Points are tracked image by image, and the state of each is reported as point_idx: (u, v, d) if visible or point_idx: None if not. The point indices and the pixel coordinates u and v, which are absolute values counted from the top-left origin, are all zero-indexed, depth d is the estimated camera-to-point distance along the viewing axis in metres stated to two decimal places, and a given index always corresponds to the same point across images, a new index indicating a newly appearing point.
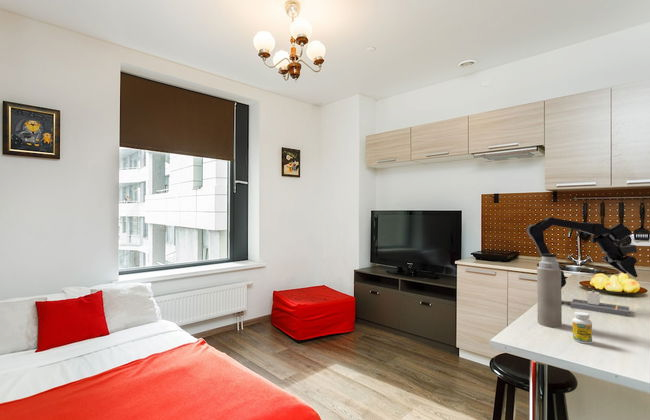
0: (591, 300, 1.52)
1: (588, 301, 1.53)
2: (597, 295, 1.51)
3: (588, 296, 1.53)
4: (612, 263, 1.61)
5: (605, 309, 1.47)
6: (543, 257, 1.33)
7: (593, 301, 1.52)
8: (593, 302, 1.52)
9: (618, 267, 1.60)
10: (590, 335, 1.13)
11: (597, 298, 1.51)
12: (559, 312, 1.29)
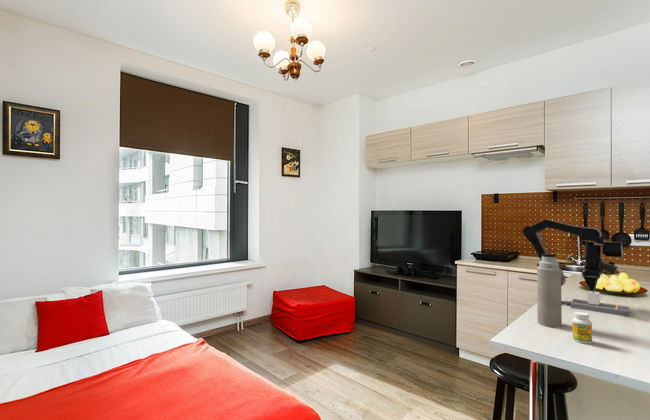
0: (591, 300, 1.52)
1: (588, 301, 1.53)
2: (597, 295, 1.51)
3: (588, 296, 1.53)
4: None
5: (605, 309, 1.47)
6: (543, 257, 1.33)
7: (593, 301, 1.52)
8: (593, 302, 1.52)
9: None
10: (590, 335, 1.13)
11: (597, 298, 1.51)
12: (559, 312, 1.29)
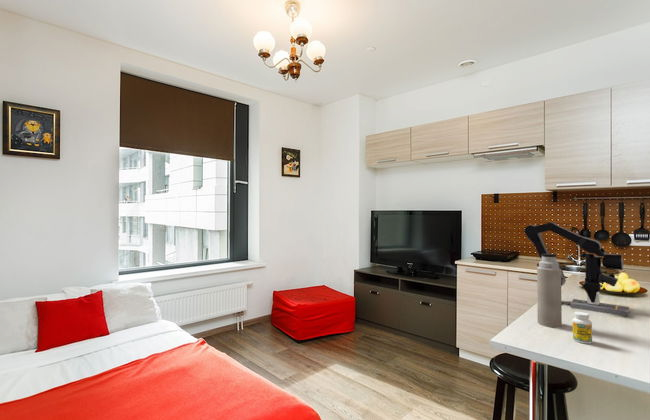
0: None
1: (588, 301, 1.53)
2: (597, 295, 1.51)
3: (588, 296, 1.53)
4: None
5: (605, 309, 1.47)
6: (543, 257, 1.33)
7: None
8: None
9: None
10: (590, 335, 1.13)
11: (597, 298, 1.51)
12: (559, 312, 1.29)
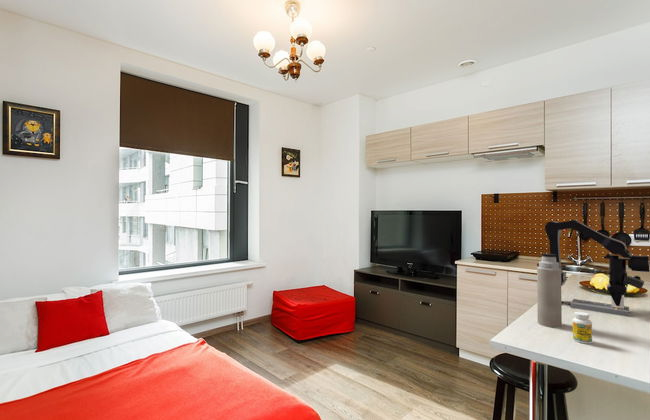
0: None
1: (612, 304, 1.47)
2: (622, 298, 1.45)
3: (612, 299, 1.47)
4: None
5: (605, 309, 1.47)
6: (543, 257, 1.33)
7: None
8: (618, 306, 1.46)
9: None
10: (590, 335, 1.13)
11: (622, 301, 1.45)
12: (559, 312, 1.29)
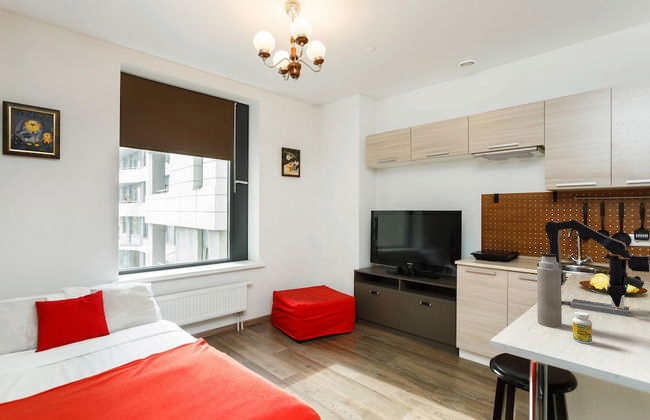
0: None
1: (612, 305, 1.47)
2: (622, 298, 1.45)
3: None
4: None
5: (605, 309, 1.47)
6: (543, 257, 1.33)
7: None
8: None
9: None
10: (590, 335, 1.13)
11: (622, 301, 1.45)
12: (559, 312, 1.29)
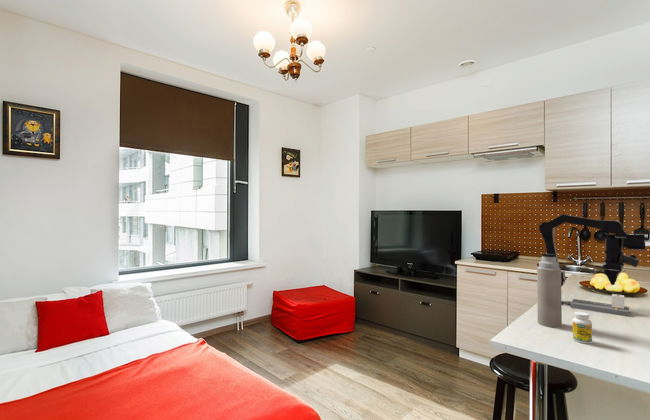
0: (616, 304, 1.46)
1: (612, 305, 1.47)
2: (622, 298, 1.45)
3: (612, 299, 1.47)
4: None
5: (605, 309, 1.47)
6: (543, 257, 1.33)
7: (618, 305, 1.46)
8: (618, 306, 1.46)
9: None
10: (590, 335, 1.13)
11: (622, 301, 1.45)
12: (559, 312, 1.29)
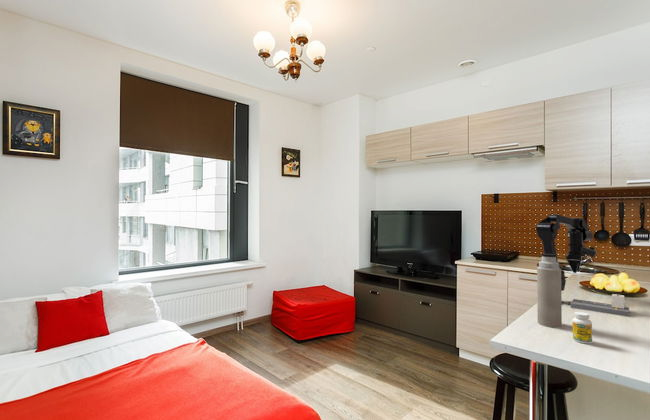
0: (616, 304, 1.46)
1: (612, 305, 1.47)
2: (622, 298, 1.45)
3: (612, 299, 1.47)
4: None
5: (605, 309, 1.47)
6: (543, 257, 1.33)
7: (618, 305, 1.46)
8: (618, 306, 1.46)
9: None
10: (590, 335, 1.13)
11: (622, 301, 1.45)
12: (559, 312, 1.29)
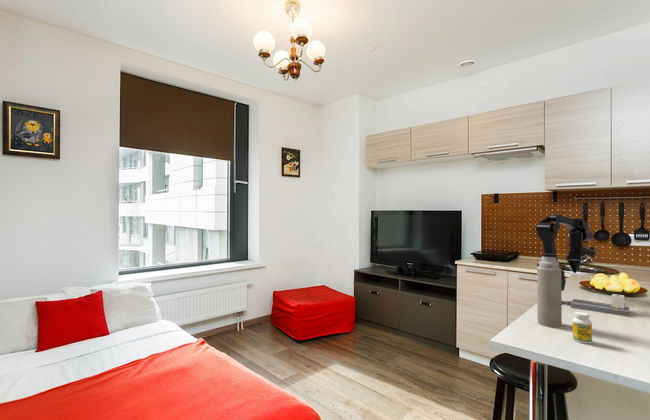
0: (616, 304, 1.46)
1: (612, 305, 1.47)
2: (622, 298, 1.45)
3: (612, 299, 1.47)
4: None
5: (605, 309, 1.47)
6: (543, 257, 1.33)
7: (618, 305, 1.46)
8: (618, 306, 1.46)
9: None
10: (590, 335, 1.13)
11: (622, 301, 1.45)
12: (559, 312, 1.29)
